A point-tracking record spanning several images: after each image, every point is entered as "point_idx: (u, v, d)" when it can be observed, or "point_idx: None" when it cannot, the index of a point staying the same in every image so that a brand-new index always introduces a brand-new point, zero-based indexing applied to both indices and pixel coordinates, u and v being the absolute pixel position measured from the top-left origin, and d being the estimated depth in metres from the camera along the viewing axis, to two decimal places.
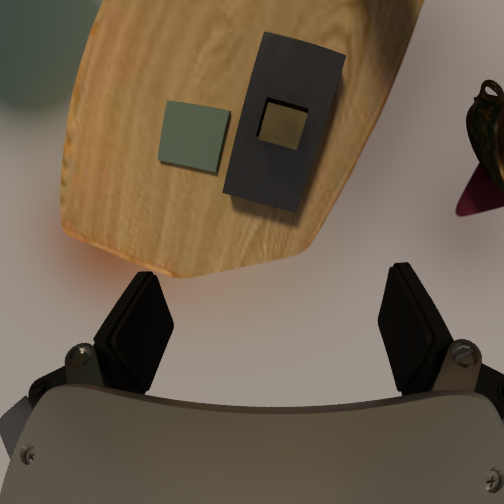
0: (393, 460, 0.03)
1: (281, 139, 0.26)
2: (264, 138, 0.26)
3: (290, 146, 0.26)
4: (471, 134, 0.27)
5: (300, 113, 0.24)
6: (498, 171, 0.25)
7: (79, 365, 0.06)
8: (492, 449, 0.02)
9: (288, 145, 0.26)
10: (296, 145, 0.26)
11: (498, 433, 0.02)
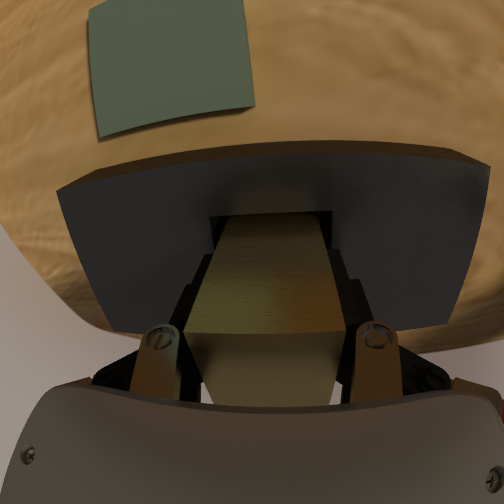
0: (393, 460, 0.03)
1: (221, 381, 0.08)
2: (197, 347, 0.07)
3: (215, 396, 0.08)
4: None
5: (324, 397, 0.08)
6: None
7: (156, 347, 0.07)
8: (492, 449, 0.02)
9: (215, 393, 0.08)
10: (226, 404, 0.08)
11: (498, 433, 0.02)
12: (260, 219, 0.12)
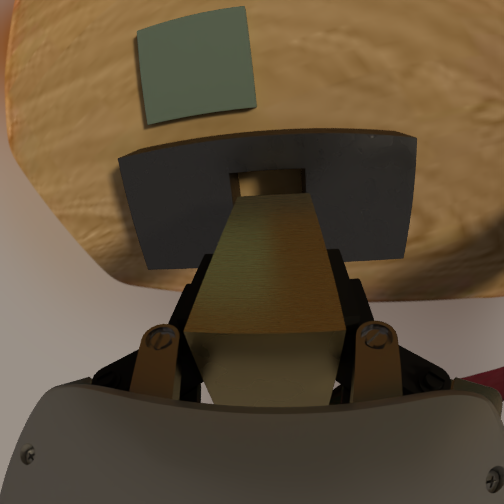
0: (393, 460, 0.03)
1: (222, 380, 0.08)
2: (197, 346, 0.07)
3: (215, 396, 0.08)
4: None
5: (324, 397, 0.08)
6: None
7: (156, 347, 0.07)
8: (492, 449, 0.02)
9: (215, 393, 0.08)
10: (226, 404, 0.08)
11: (498, 433, 0.02)
12: (260, 219, 0.12)
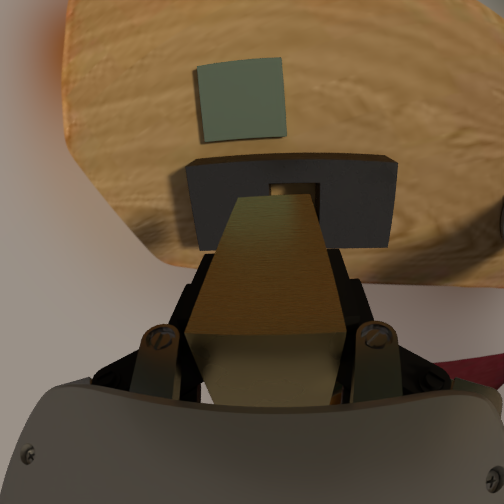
0: (393, 460, 0.03)
1: (222, 381, 0.08)
2: (198, 347, 0.07)
3: (216, 397, 0.08)
4: None
5: (325, 398, 0.08)
6: (332, 394, 0.40)
7: (156, 347, 0.07)
8: (492, 449, 0.02)
9: (216, 394, 0.08)
10: None
11: (498, 433, 0.02)
12: (260, 219, 0.12)
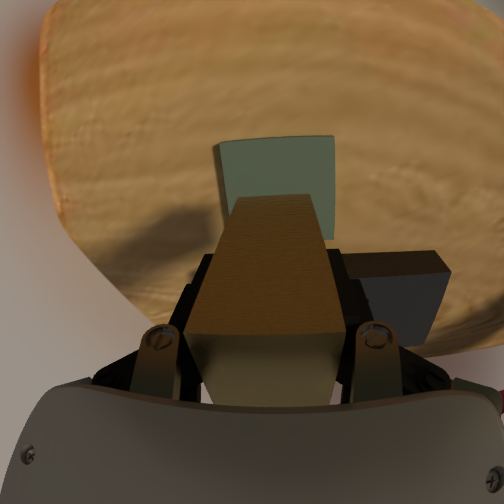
0: (393, 460, 0.03)
1: (221, 381, 0.08)
2: (197, 347, 0.07)
3: (215, 397, 0.08)
4: None
5: (324, 398, 0.08)
6: None
7: (156, 347, 0.07)
8: (492, 449, 0.02)
9: (215, 394, 0.08)
10: None
11: (498, 433, 0.02)
12: (260, 219, 0.12)
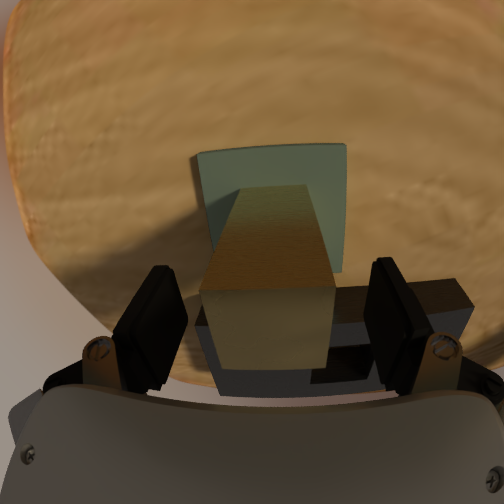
0: (393, 460, 0.03)
1: (230, 340, 0.09)
2: (210, 304, 0.08)
3: (223, 358, 0.10)
4: None
5: (321, 357, 0.09)
6: None
7: (97, 358, 0.07)
8: (492, 449, 0.02)
9: (223, 355, 0.10)
10: (233, 367, 0.10)
11: (498, 433, 0.02)
12: (261, 205, 0.14)
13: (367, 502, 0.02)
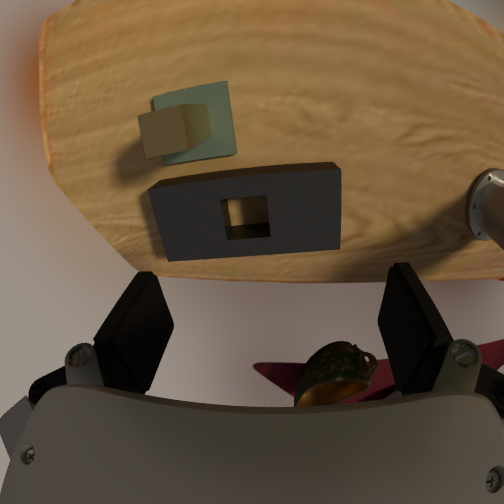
0: (393, 460, 0.03)
1: (148, 138, 0.20)
2: (140, 121, 0.20)
3: (146, 150, 0.21)
4: (322, 353, 0.45)
5: (184, 142, 0.21)
6: (307, 388, 0.43)
7: (79, 365, 0.06)
8: (492, 449, 0.02)
9: (145, 148, 0.21)
10: (150, 156, 0.21)
11: (498, 433, 0.02)
12: None
13: (367, 502, 0.02)
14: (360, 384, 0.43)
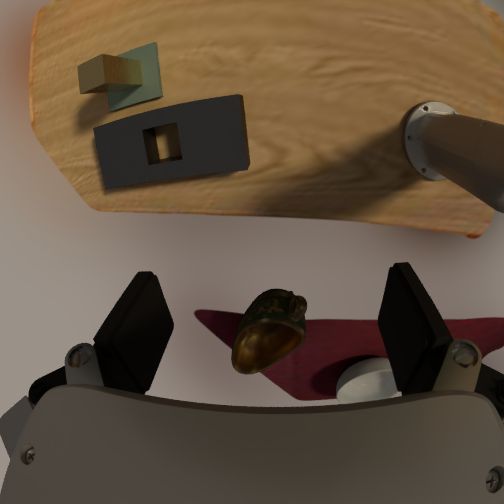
0: (393, 460, 0.03)
1: (82, 79, 0.22)
2: (79, 69, 0.22)
3: (80, 88, 0.23)
4: (257, 298, 0.47)
5: (103, 78, 0.22)
6: (238, 334, 0.45)
7: (79, 365, 0.06)
8: (492, 449, 0.02)
9: (80, 86, 0.23)
10: (82, 91, 0.23)
11: (498, 433, 0.02)
12: None
13: (367, 502, 0.02)
14: (299, 338, 0.44)
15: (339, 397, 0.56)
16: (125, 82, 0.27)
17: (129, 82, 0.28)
